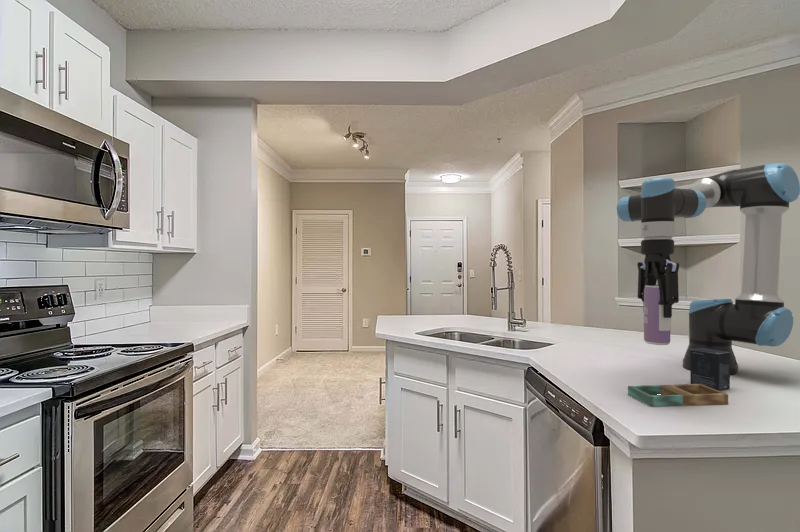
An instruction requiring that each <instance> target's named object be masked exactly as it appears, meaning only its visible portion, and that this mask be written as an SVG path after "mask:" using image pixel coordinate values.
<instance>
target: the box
mask: <svg viewBox="0 0 800 532" xmlns="http://www.w3.org/2000/svg"><path fill="white" fill-rule="evenodd" d="M689 371H690V372H689V373H690V377H689V378H690V383H689V384H702V385H705V386H707V387H710V388H713V389H715V390H718V391H721V392H723V391H726V390H730V388H731V385H730V384H731V377H730V376H731V374H730V352H726V351H720V350H714V349H707V348H695V349H691V350H690V370H689Z"/></svg>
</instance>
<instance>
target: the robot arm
mask: <svg viewBox="0 0 800 532" xmlns="http://www.w3.org/2000/svg"><path fill="white" fill-rule="evenodd" d="M640 191H641V193H640V194H636V195H633V194H632V195H627V196H624V197H621V198H620V199H619V200H618V202H617V204H616V214H617V216H618V219H620V220H621V221H623V222H640V221H641V222H640V223H641V224H640V230H641V231H640V234H641V235H640V237H641V238H642V239H643V240H641V241H640V254H642V255H645V256H644V260H643V261H640V262H639V261H638V262H637V264H636V265H637V270H638V276H637V277H638V279H637V299H639V300H641V301H642V305H643V306H642V309H643V310H642V311H643V314H644V289H645V285H658V286H659V290H660V298H661V302H660V303H659V330H660V331H670V332H672V316H673V314H672V313H673V305H674V304H677V303H679V301H680V300H679V299H680V296H679V293H680V292H679V269H680V262H679V263H678V262H673V261H672V259H671V255H674V253H675V240H674V239H673V238H674V237H675V236H676V235H675V234H676V233H675V232H676V231H675V230H676V229H675V227H676V226H675V219H679V218H683V219H691V218H696V217H699V216H700V215H702V213H703V212H705V209H709V208H725V207H727V208H730V207H731V208H732V207H739V211H740V212H741V213H742V214H743V215H744V216H745V221H744V222H745V225H744V241H743V260H742V284H741V294H739V295H738V296H736V297H735V298H734V300H735V301H734V302H733V300H732V299H731V298H718V299H717V298H716V299H715V298H714V299H697V300H696V299H695V300H693V301H692V302H690V303H689V309H688V329H689V330H688V339H689V341H688V346H687V349H686V351H685V354H684V357H683V359H682V367H683V368H685V369H687V370H689V371H690V350H691V349H695V348H707V349H714V350H720V351H726V352H730V375H736V374H738V373H739V364H738V361H737V359H736V356H735V353H734V350H733V347H732V346H733V345H732V344H733V343H732V342H738V343H743V344H744V343H746V344H752V345H758V346H759V347H761V346H766V347H778V346H781V345H783V344H784V343H785V342H786V341H787V340H788V338H789V337H790V335H791V333H792V330H793V325H794V316H793V312H792V311H791V310H790V309H789V308H787V307H785V301H784V299H782V298H781V297H780V296H779V279H780V278H779V277H780V276H779V275H780V259H781V258H780V256H781V243H782V242H781V240H782V238H781V237H782V221H783V219H782V218H783V217H782V216H783V215H784V214H785V213H786V212H787V211H788V210H789V209H790V203H793V202H795V201H797V200H798V198H799V195H800V179H799V177H798V175H797V173H796V171H795V169H794V168H793V167H792V166H791V165H789V164H787V163H783V162H779V163H767V164H762V165H758V166H757V165H756V166H755V165H754V166H750V167H745V168H739V169H732V170H728V171H727V170H726V171H724V172H720V173H717V174H713V175H711V176H708V177H707V176H706V177H703V178H700V179H698V180H696V181H694V182H693V183H690V184H685V185H680V186H676V184H675V180H674V179H673V178H672V177H655V178H649V179H645V180H644V181H643V182H642V183H641V190H640Z"/></svg>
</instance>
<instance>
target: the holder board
mask: <svg viewBox="0 0 800 532" xmlns="http://www.w3.org/2000/svg"><path fill="white" fill-rule="evenodd" d="M657 394H661V395H657ZM629 395H630V396H629ZM627 396H629V397H631V396H632V397H633V398H632V397H631V398H632V399H634V398H635V400H636V399H637V401H638V400H639V401H638V402H640V401H641V402H640V403H642V402H643V403H642V404H644V403H645V404H644V405H646V404H647V405H649V406H658V407H681V406H682V407H684V406H685V407H687V406H715V405H716V406H718V405H729V394H728V393H725V392H723V391H718V390H715V389H713V388H710V387H707V386H705V385H702V384H690V383H686V384H685V383H684V384H681V383H679V384H653V385H652V384H651V385H650V384H648V385H647V384H646V385H628V386H627ZM647 405H646V406H647ZM649 406H648V407H649Z"/></svg>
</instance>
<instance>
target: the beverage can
mask: <svg viewBox="0 0 800 532" xmlns="http://www.w3.org/2000/svg"><path fill="white" fill-rule="evenodd" d="M660 302H661V298H660V290H659V286H658V284H656V285H645V289H644V313H643V341H644V342H645V343H646V344H648V345H656V346H667V345H669V344H670V343H671V331H660V330H659V303H660Z"/></svg>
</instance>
